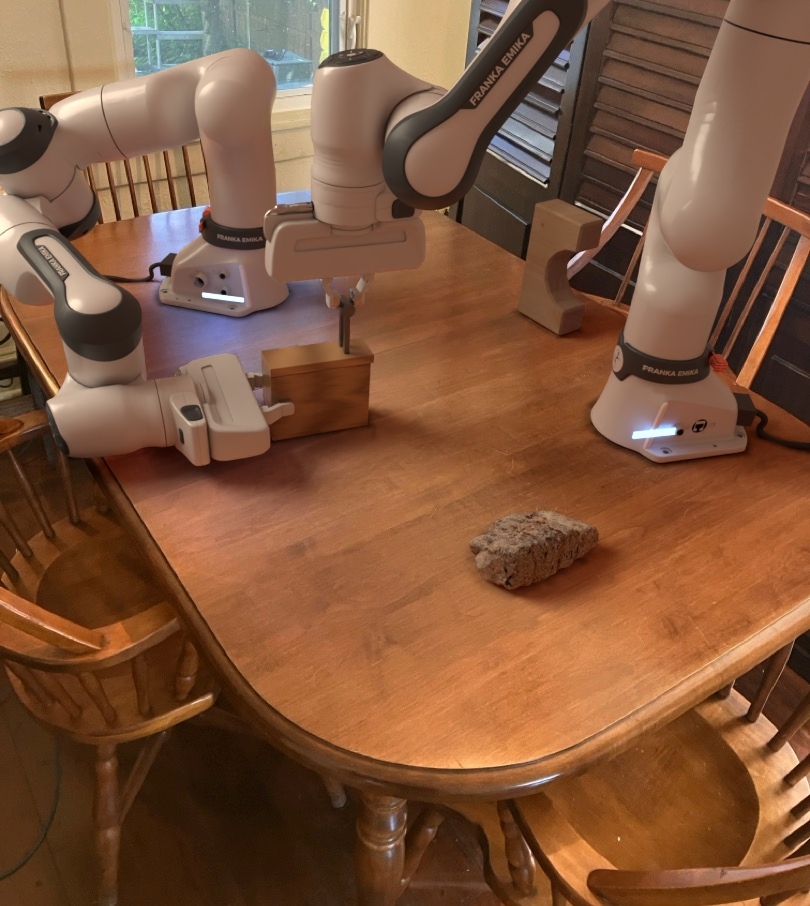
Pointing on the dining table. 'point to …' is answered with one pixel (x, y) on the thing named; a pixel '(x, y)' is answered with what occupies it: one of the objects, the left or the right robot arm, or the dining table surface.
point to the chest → (319, 400)
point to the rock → (530, 547)
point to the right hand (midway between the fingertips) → (345, 304)
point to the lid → (321, 351)
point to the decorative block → (556, 264)
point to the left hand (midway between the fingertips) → (286, 393)
